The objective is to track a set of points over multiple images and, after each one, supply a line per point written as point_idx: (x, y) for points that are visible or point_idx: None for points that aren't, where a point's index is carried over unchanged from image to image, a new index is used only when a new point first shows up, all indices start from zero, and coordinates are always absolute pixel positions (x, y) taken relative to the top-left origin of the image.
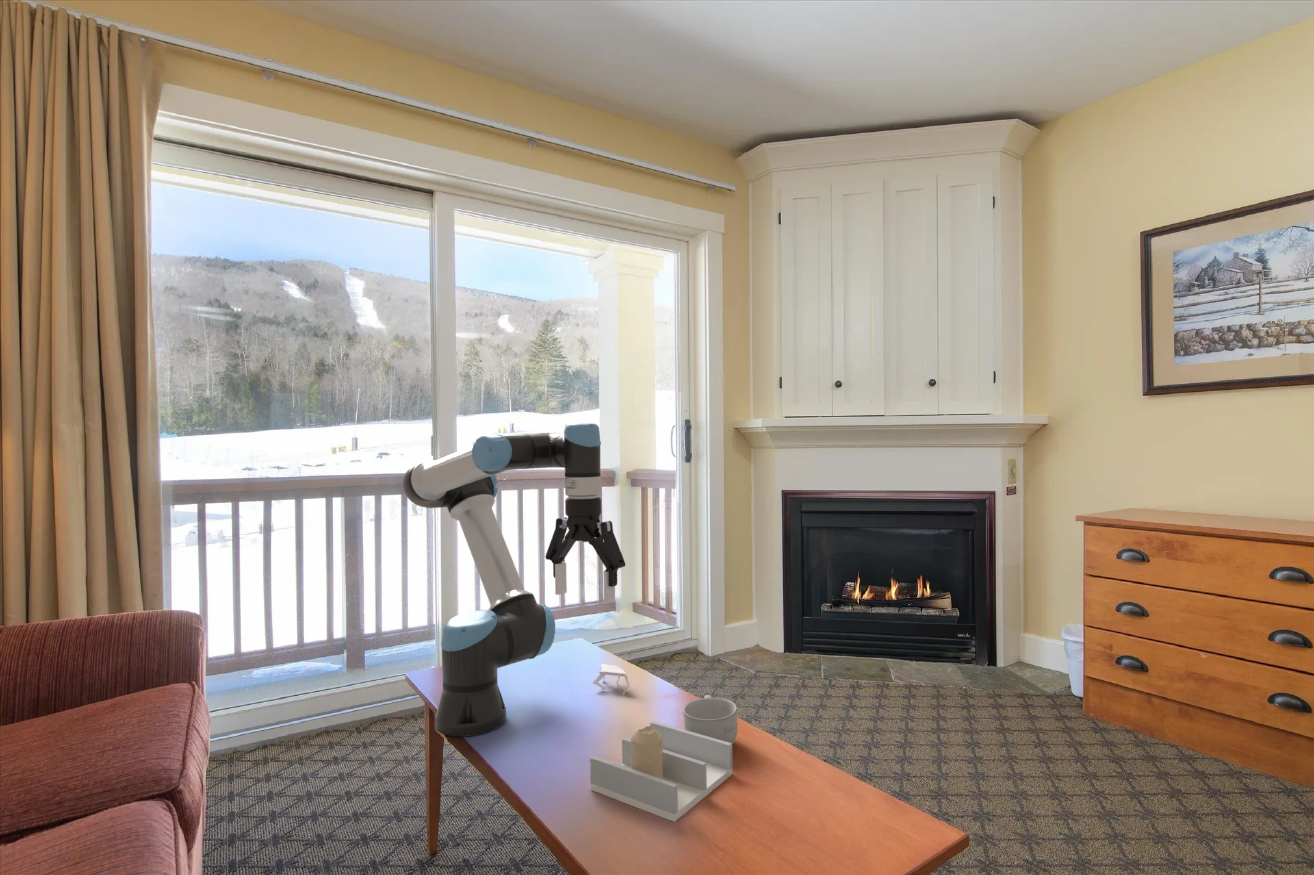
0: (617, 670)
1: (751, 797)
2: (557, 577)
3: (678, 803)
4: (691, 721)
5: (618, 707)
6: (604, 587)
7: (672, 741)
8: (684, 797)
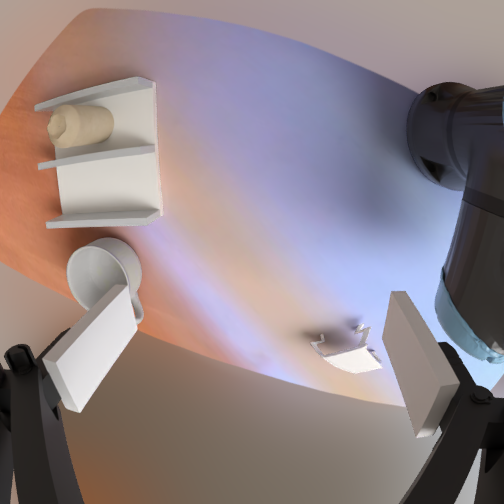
0: (343, 361)
1: (37, 191)
2: (417, 336)
3: None
4: (99, 245)
5: (298, 297)
6: (94, 317)
7: (120, 214)
8: None
